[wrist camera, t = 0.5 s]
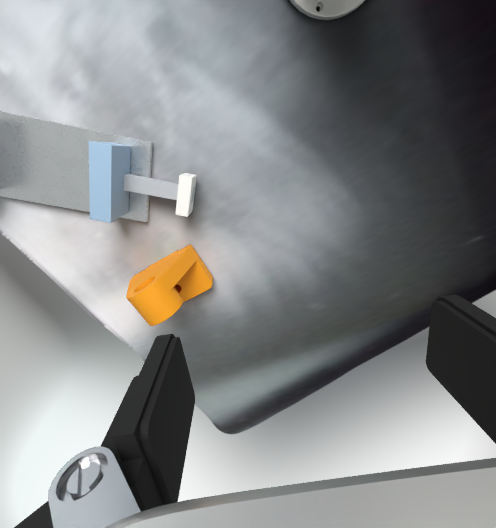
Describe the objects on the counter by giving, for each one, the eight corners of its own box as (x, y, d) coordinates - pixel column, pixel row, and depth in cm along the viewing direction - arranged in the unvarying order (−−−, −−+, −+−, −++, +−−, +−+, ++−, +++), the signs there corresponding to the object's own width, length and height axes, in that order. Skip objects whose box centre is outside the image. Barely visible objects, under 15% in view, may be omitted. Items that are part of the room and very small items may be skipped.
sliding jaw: (111, 142, 37) (88, 141, 31) (198, 159, 38) (191, 161, 32) (110, 209, 40) (89, 219, 35) (190, 223, 41) (183, 235, 36)
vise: (-38, 103, 36) (-99, 92, 29) (152, 142, 38) (135, 140, 32) (-24, 190, 40) (-75, 197, 33) (148, 220, 42) (131, 233, 36)
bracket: (162, 307, 48) (138, 354, 37) (136, 273, 45) (102, 313, 34) (216, 278, 46) (208, 319, 35) (191, 242, 44) (175, 273, 33)
